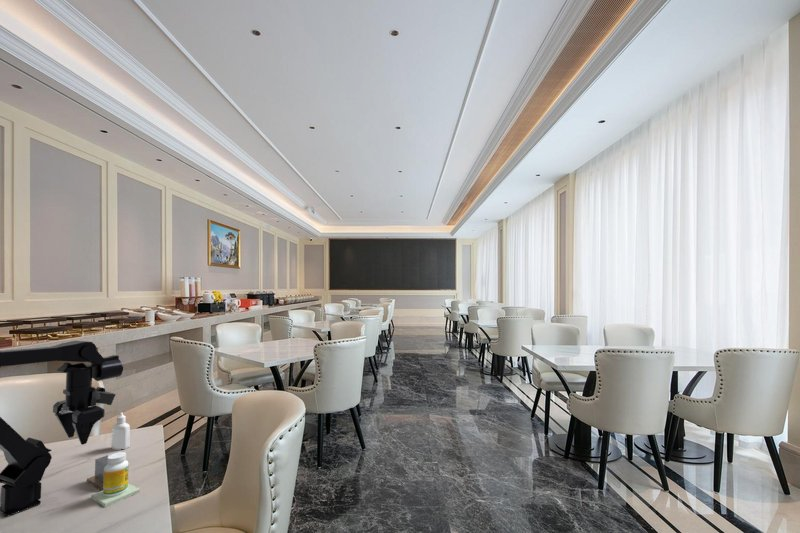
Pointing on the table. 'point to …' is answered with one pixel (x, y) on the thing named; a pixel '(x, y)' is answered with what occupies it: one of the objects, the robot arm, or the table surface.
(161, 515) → the table surface
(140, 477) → the table surface
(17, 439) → the robot arm
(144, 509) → the table surface
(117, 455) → the supplement bottle
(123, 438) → the eye dropper bottle
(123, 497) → the sage pad
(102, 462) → the mounted unit
